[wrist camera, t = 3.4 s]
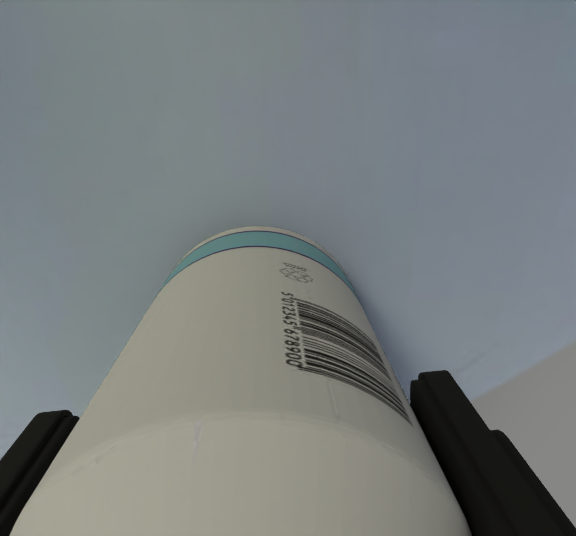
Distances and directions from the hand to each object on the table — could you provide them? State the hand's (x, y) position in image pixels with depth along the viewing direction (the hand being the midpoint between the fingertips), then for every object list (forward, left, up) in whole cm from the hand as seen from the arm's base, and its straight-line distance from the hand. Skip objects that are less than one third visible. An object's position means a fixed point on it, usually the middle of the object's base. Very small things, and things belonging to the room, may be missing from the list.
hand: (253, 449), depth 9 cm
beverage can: (0, 0, -7) cm, 7 cm away
